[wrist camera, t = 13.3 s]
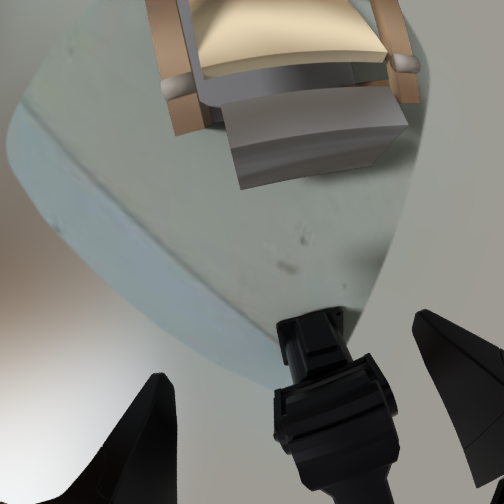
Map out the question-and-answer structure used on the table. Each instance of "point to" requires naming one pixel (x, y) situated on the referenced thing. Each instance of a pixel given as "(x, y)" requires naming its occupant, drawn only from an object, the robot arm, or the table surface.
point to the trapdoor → (299, 102)
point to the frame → (198, 114)
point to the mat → (258, 76)
